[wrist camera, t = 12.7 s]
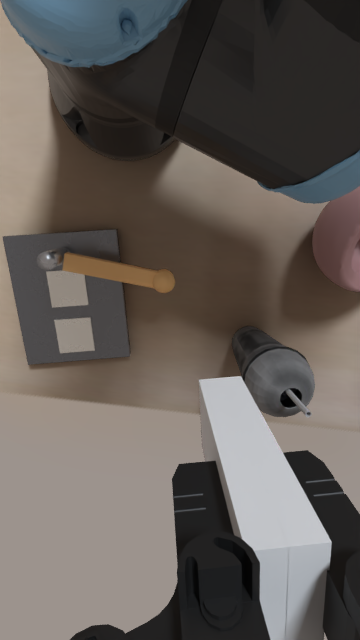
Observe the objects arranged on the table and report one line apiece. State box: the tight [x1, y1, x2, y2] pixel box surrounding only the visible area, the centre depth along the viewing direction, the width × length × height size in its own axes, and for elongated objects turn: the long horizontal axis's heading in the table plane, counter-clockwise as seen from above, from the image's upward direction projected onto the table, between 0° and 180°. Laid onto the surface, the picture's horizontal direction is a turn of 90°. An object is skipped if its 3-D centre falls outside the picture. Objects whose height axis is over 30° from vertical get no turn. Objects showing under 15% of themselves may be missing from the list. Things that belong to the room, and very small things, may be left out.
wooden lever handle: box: [63, 252, 175, 293], centre depth 37 cm, size 12×2×2 cm, turn 78°
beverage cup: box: [232, 326, 315, 417], centre depth 37 cm, size 7×7×20 cm
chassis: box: [3, 229, 130, 365], centre depth 40 cm, size 16×13×8 cm
